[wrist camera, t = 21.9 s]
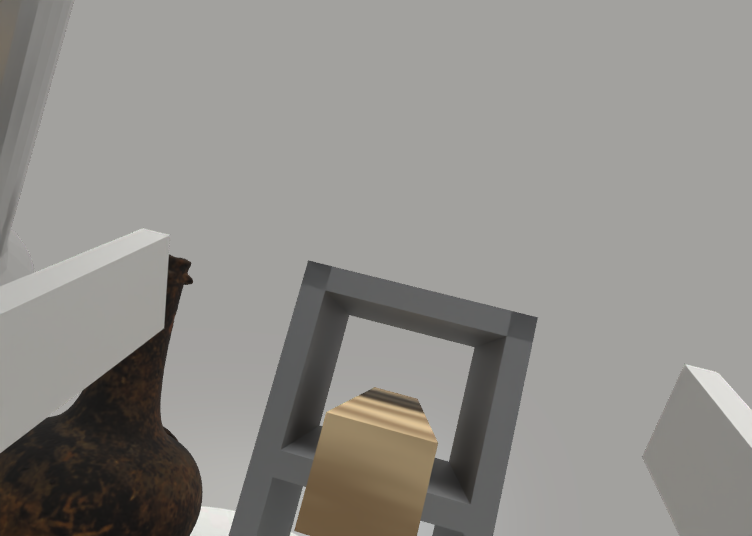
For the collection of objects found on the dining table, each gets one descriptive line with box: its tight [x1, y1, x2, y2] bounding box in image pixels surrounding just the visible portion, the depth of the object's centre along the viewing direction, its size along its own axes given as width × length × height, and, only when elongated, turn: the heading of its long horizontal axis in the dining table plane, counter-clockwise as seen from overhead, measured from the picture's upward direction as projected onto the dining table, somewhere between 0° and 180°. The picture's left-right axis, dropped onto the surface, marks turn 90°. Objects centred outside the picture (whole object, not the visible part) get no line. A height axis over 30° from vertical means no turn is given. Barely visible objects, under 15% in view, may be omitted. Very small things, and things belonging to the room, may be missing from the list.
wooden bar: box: [295, 387, 438, 536], centre depth 32 cm, size 30×4×4 cm, turn 177°
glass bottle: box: [0, 255, 202, 536], centre depth 46 cm, size 18×18×28 cm
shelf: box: [229, 261, 537, 536], centre depth 36 cm, size 14×14×28 cm
